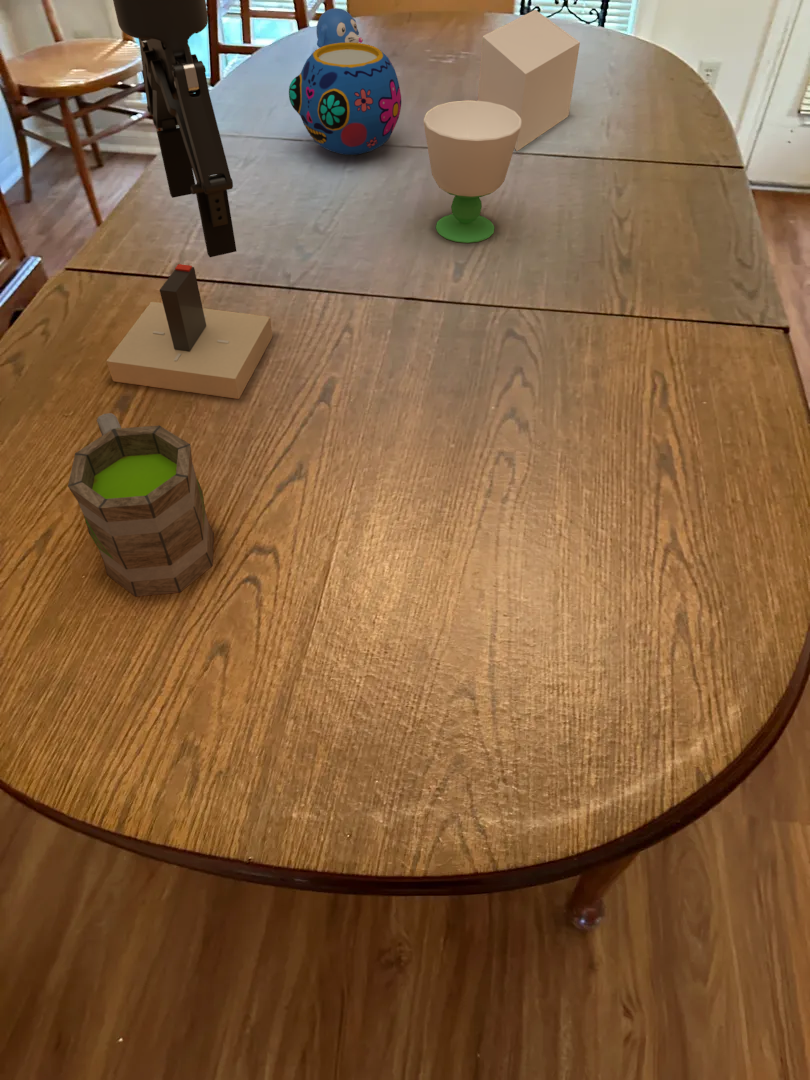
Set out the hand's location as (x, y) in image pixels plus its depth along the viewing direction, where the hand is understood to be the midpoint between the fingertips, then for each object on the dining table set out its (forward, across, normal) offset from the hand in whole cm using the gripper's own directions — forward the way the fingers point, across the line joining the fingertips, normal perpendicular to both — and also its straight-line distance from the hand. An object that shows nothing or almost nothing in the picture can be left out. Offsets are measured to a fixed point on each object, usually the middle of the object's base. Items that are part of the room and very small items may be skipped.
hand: (202, 222), depth 81 cm
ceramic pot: (+20, +54, -39) cm, 70 cm away
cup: (+20, +20, -44) cm, 52 cm away
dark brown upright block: (+17, +6, +3) cm, 18 cm away
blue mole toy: (+20, +98, -57) cm, 115 cm away
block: (+20, +55, -76) cm, 96 cm away
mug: (+20, -21, +15) cm, 33 cm away
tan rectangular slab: (+20, +6, +3) cm, 21 cm away
